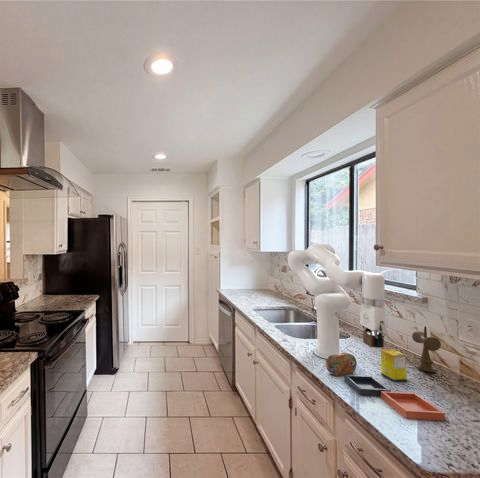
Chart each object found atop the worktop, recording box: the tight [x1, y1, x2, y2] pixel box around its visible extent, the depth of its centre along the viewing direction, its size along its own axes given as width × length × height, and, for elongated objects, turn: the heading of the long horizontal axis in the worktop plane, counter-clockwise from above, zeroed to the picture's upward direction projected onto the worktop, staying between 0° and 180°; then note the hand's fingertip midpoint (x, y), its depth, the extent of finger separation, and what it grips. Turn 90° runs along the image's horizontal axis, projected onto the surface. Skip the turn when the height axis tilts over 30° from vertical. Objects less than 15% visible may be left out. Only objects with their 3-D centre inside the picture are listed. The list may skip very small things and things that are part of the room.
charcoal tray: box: [343, 374, 392, 397], centre depth 105 cm, size 11×11×2 cm
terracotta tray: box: [380, 391, 446, 422], centre depth 92 cm, size 12×12×2 cm
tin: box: [325, 352, 358, 377], centre depth 117 cm, size 15×3×8 cm, turn 105°
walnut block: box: [362, 331, 385, 349], centre depth 113 cm, size 5×5×5 cm
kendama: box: [411, 325, 442, 373], centre depth 119 cm, size 6×10×20 cm, turn 163°
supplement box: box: [380, 349, 408, 382], centre depth 113 cm, size 6×6×11 cm
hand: (373, 344), depth 113 cm, fingers closed on walnut block, 5 cm apart
